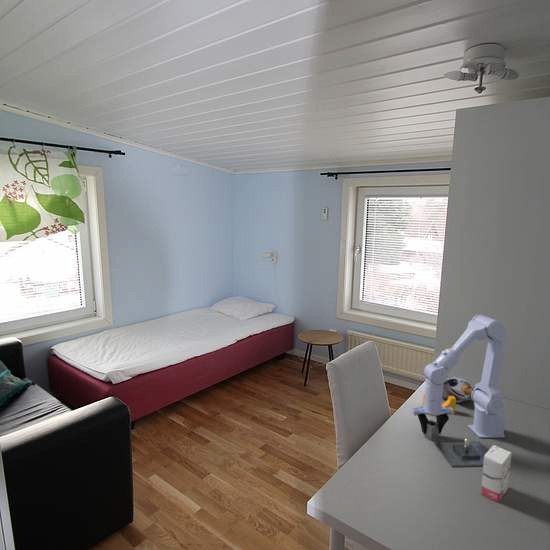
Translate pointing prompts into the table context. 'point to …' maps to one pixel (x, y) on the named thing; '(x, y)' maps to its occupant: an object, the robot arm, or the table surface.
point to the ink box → (496, 473)
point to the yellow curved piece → (447, 402)
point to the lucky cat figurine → (457, 389)
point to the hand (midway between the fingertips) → (431, 432)
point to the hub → (432, 430)
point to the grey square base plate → (463, 453)
